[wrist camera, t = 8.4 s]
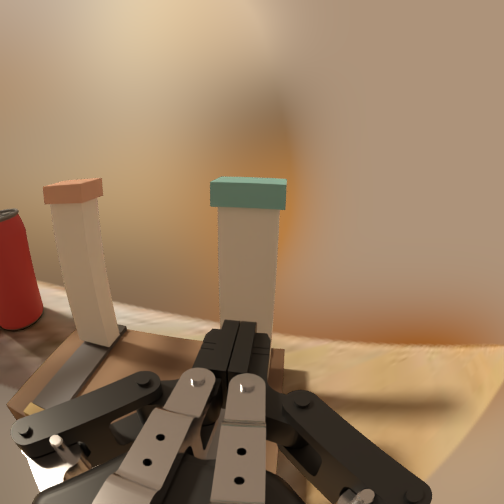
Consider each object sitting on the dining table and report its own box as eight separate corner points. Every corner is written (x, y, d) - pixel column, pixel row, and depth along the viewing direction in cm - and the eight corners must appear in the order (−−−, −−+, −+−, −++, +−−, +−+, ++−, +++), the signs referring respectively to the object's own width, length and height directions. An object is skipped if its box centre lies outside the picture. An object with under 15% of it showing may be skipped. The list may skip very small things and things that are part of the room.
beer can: (53, 317, 27) (29, 209, 23) (6, 340, 22) (-27, 227, 17) (34, 298, 30) (14, 205, 26) (-7, 317, 25) (-33, 220, 20)
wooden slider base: (18, 422, 13) (3, 400, 13) (89, 337, 25) (83, 316, 24) (271, 503, 12) (275, 488, 11) (282, 367, 23) (285, 345, 22)
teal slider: (216, 376, 18) (210, 181, 14) (223, 354, 20) (220, 176, 16) (272, 382, 18) (286, 184, 14) (274, 358, 20) (286, 179, 16)
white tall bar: (75, 340, 20) (42, 186, 16) (90, 325, 22) (64, 180, 18) (110, 350, 20) (80, 183, 15) (124, 332, 22) (101, 177, 18)
